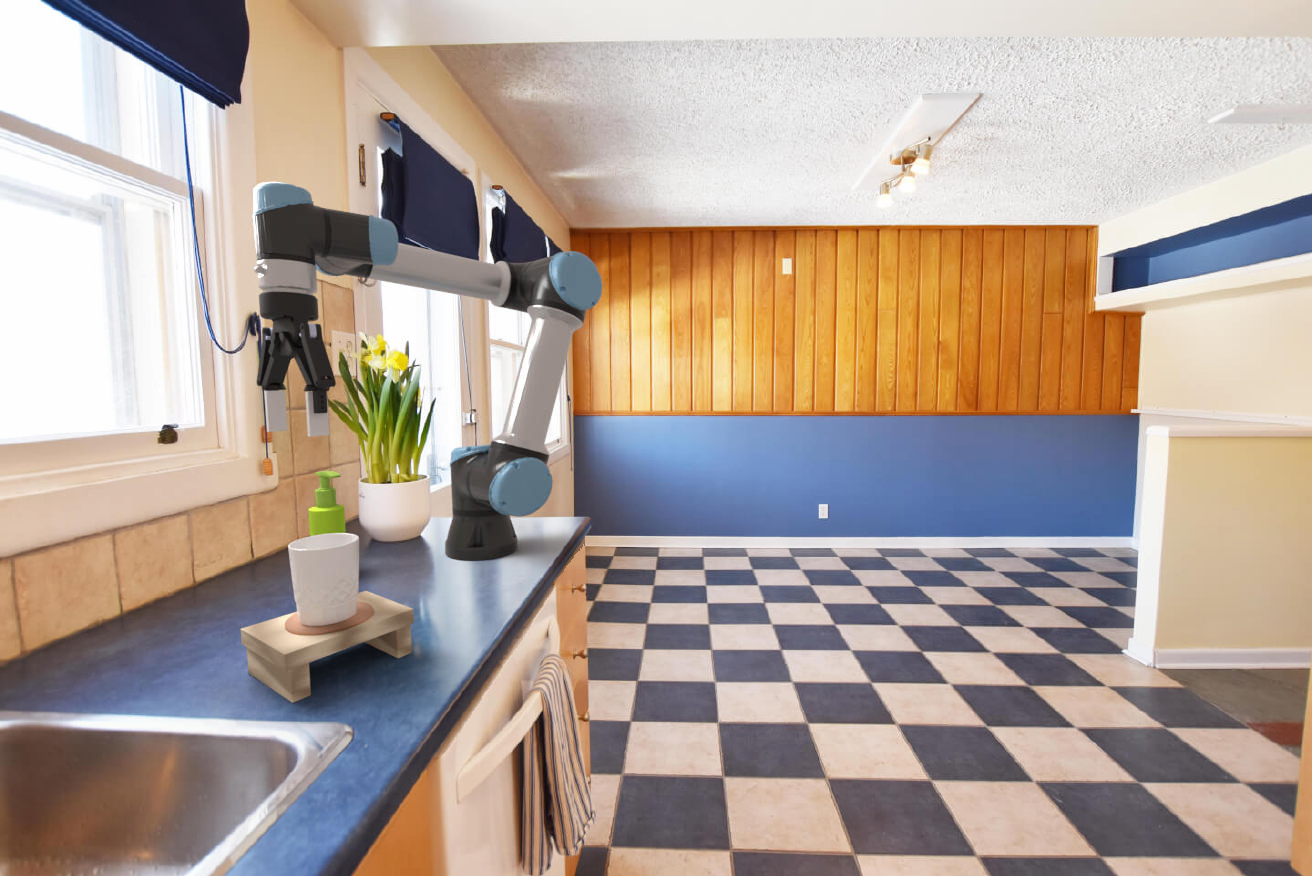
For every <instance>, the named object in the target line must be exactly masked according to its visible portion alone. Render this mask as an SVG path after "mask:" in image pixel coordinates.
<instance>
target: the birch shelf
mask: <svg viewBox="0 0 1312 876" xmlns="http://www.w3.org/2000/svg"><path fill="white" fill-rule="evenodd" d="M357 594H358V610H357V612H356V614H355V615H354V616H352V617H351V618H349V619H347V620H344V621H341V622H338V623H335V624H330V625H324V626H307V625H302V624H301V623H300V622H299V621H298V616H297V611H294V612H291V613H289V614H284V615H282V616H278V617H275V618H271V619H268V620H265V621H262V622H258V623H254V624H252V625H249V626H246V627H242V628H240V638H241V640H240V641H241V645H242V646H244V647H246V657H247V659H246V660H247V673H248V674H249V675H250V676H252V677H254V678H255V679H256V680H258V681H259V682H261V683H263V684H264V685H265V686H267V687H268V688H270V689H271V690H273V691H274V692H276V693H277V694H279V695H280V696H282V698H285V699H286V700H287V701H289V702H290V703H292V704H293V703H296V702H298V701H300V700H303V699H305V698H308V697H310V696H311V695H312V692H311V690H312V689H311V677H310V676H311V674H310V663H312V662H314V661H317V660H319V659H323V658H325V657H328V656H330V655H333V654H335V653H339V652H342V651H343V650H346V649H348V648H352V647H354V646H357V645H359V644H362V643H365V644H367V645H370V646H372V647H373V648H375V649H378V650H379V651H382V652H384V653H386V654H388V655H390V656H393V657H394V658H396V659H400V658H403V657H405V656H407V655H410V654H412V653H413V650H412V649H413V646H412V627H411V626H412V625H413V624H414V623H415V621H414V620H415V616H414V615H415V614H414V608H413V607H409V606H406V605H404V604H402V603H400V602H397V601H394V600H391V599H390V598H385V597H384V596H380V595H378V594H375V593H374V592H370V591H368V590H364V591H361V592H358V593H357Z"/></svg>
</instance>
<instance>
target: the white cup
mask: <svg viewBox="0 0 1312 876" xmlns="http://www.w3.org/2000/svg"><path fill="white" fill-rule="evenodd" d="M287 548H288V557H289V565H290V566H289V567H290V574H291V575H290V576H291V584H292V588H293V596H294V601H295V603H296V612H297V616H298V621H299V622H300V623H301V624H302V625H307V626H324V625H330V624H335V623H338V622H341V621H344V620H347V619H349V618H351V617H352V616H354V615H355V614H356V612H357V610H358V594H357V593H359V587H360V586H359V585H360V583H359V582H360V581H359V579H360V538H359V535H357V534H355V533H347V532H346V533H331V534H321V535H315V536H310V535H309V536H306V537H302V538H299V539H296V540H294V541H291V542H290V543H288V545H287Z"/></svg>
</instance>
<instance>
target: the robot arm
mask: <svg viewBox="0 0 1312 876" xmlns="http://www.w3.org/2000/svg"><path fill="white" fill-rule="evenodd" d="M252 192H253V193H252V197H253V198H252V199H253V201H252V202H253V203H252V204H253V205H252V206H253V207H252V209H253V210H252V211H253V212H252V213H253V214H252V219H253V220H252V221H253V231H254V243H255V257H256V266H255V267H254V268H253V270H254V272H255V273H256V274H257V283H258V288H259V289H260V290H262V292H260V294H259V295H258V304H259V315H260V317H261V318H262V319H265V320H270V321H272V327H269V326H268V327H267V326H266V327H262V329H261V334H262V335H261V338H262V340H261V341H262V342H261V349H260V350H261V351H260V354H259V355H260V357H259V363H258V370H257V374H256V375H257V376H256V377H257V378H256V385H257V387H261V389H262V390H263V393H264V406H265V422H266V423H265V424H266V432H267V433H271V432H272V433H273V432H288V430H289V429H288V418H287V417H288V416H287V402H286V401H287V400H286V399H287V398H286V390H287V388H286V386H285V384H284V383H285V379H286V376H287V373H288V370H289V366H290V364H291V361H292V360H293V359H294V361H295V362H296V365H297V367H298V369H299V372H300V374H301V376H302V378H303V379H304V383H305V386H304V389H303V392H305V393H304V394H305V408H306V410H305V412H306V425H307V426H306V428H307V437H309V438H311V437H322V436H323V437H324V436H325V437H326V436H330V422H329V421H330V420H329V419H330V418H329V400H328V392H330V389H331V388H334V387H336V385H337V383H336V378H335V375H334V371H333V369H332V368H333V367H332V365H331V363H330V358H329V355H328V352H327V350H326V348H327V347H326V345H325V343H324V340H323V339H324V338H323V331H322V326H321V324H320V323H312V322H317V321H318V320H319V303H318V302H319V300H318V298H317V297H316V296H315V295H314V294H316V293H317V292H318V280H317V279H318V278H317V277H318V276H317V271H318V272H319V273H321V274H323V275H325V276H329V277H339V276H340V277H341V276H350V277H351V276H352V277H357V278H363V279H370V280H375V281H381V282H387V283H392V284H398V285H403V286H409V287H414V288H420V289H425V290H430V291H431V290H432V291H437V292H442V293H447V294H451V295H458V296H463V297H470V298H474V299H480V300H486V301H490V303H491V304H492V305H493V306H494V307H498V308H503V309H509V310H513V311H517V312H522V313H525V314H528V315H529V317H530V319H531V323H530V327H529V330H528V334H527V338H526V341H525V345H524V349H523V353H522V357H521V359H520V365H519V367H518V370H517V371H518V372H517V376H516V379H515V382H514V385H513V391H512V394H511V398H510V402H509V404H508V408H507V413H506V417H505V420H504V424H503V428H502V432H501V433H500V434H498V435H497V436H495V437H493V438H492V439H491V441H490V444H481V445H474V446H473V445H472V446H460V447H455V448H454V449H452V450H451V452H450V462H449V467H450V484H451V487H450V488H451V502H452V503H451V505H452V506H451V507H452V517H451V522H450V525H449V529H448V532H447V536H446V537H447V538H446V539H445V542H444V551H445V552H444V553H445V556H447V557H449V558H451V559H456V560H464V561H480V560H489V559H496V558H500V557H504V556H508V555H510V554H512V553H514V552H515V551H516V550H517V549H518V546H519V545H518V536H517V534H516V531H515V528H514V525H513V522H512V520H511V516H513V517H517V518H518V517H526V516H529V515H532V514H534V513H536V512H537V511H538V510H540V509H541V508H542V507H544V505H545V503H547V501H548V499H549V498H550V496H551V493H552V490H553V485H554V484H553V475H552V474H551V471H550V468H549V467H548V463H549V462H548V461H549V459H550V452H549V451H548V449H547V447H546V444H545V443H546V440H547V436H548V432H549V427H550V424H551V420H552V416H553V413H554V407H555V404H556V400H557V395H558V393H559V388H560V385H561V380H562V377H563V373H564V368H565V367H566V366H565V365H566V362H567V358H568V353H569V350H570V345H571V343H572V338H573V334H574V332H575V331H577V330H579V329H582V328H583V325H584V321H585V318H586V313H587V310H591V309H592V308H594V307H595V306H596V305H597V304H598V302H599V301H600V300H601V297H602V295H603V294H602V292H603V282H602V276H601V273H600V272H599V270H598V268H597V267H598V266H596V264H595V262H594V261H592V259H590V257H589V256H587V255H585V254H584V253H582V252H579V251H576V250H575V251H574V250H573V251H572V250H569V251H559V252H557V253H555V254H554V255H551V256H548V257H544V258H539V259H536V260H533V261H528V262H508V261H504V260H500V261H499V260H498V261H497V262H496V263H491V262H486V261H483V260H477V259H472V258H467V257H463V256H459V255H455V254H450V253H446V252H442V251H436V250H433V249H427V248H423V247H418V246H414V245H411V244H406V243H401V242H399V234H398V231H397V227H396V226H395V224H394V223H393V221H391V220H390V219H389V220H388V219H386V218H382V217H378V216H374V215H372V214H370V215H368V214H361V213H356V212H350V211H345V210H337V209H331V208H325V207H321V206H319V205H314V201H313V199H312V198H313V197H312V194H311V193H310V191H309V190H307V189H305V188H303V187H300V186H296V185H295V184H291V183H286V182H280V181H279V182H277V181H267V182H261V183H258V184H257V185H256V186H255V187H253V190H252ZM507 554H508V555H507Z"/></svg>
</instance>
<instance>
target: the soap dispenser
mask: <svg viewBox="0 0 1312 876" xmlns="http://www.w3.org/2000/svg"><path fill="white" fill-rule="evenodd" d="M315 476H318V477H319V487H318V488H316V489H315V490H314V495H315V496H314V498H315V506H312V507H310V508H308V510H307V511H308V527H309V529H308V530H309V536H315V535H321V534H331V533H347V532H346V516H345V515H346V514H345V506H344V505H343V504H340V503H339V504H338V503H337V491H336V488H335V487H333V486H331V479H336V478H340V477H342V474H341V473H339V472H337V471H333V470H324V471H317V472H316V471H315Z"/></svg>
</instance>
